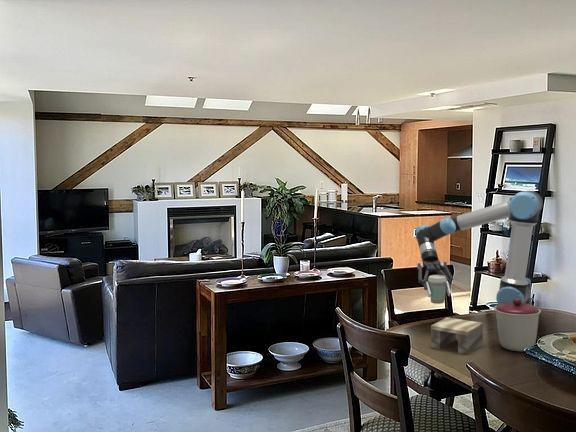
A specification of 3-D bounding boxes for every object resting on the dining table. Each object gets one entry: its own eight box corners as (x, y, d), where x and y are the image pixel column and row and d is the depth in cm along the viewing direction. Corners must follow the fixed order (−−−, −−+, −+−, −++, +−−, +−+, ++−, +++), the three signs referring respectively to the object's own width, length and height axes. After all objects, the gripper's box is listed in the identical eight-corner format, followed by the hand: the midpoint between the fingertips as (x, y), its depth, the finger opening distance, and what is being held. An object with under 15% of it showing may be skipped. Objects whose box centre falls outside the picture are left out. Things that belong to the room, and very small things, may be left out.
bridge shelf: (482, 344, 237) (482, 322, 236) (467, 354, 225) (467, 331, 224) (447, 338, 247) (447, 317, 246) (431, 347, 235) (430, 325, 234)
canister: (550, 352, 224) (550, 301, 222) (509, 356, 221) (509, 304, 219) (524, 339, 242) (524, 292, 240) (485, 343, 239) (485, 295, 237)
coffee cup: (447, 304, 250) (447, 278, 248) (428, 304, 252) (427, 278, 250) (446, 299, 258) (446, 274, 257) (427, 299, 260) (427, 274, 259)
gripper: (448, 257, 268) (460, 298, 254) (405, 259, 268) (414, 300, 253) (452, 248, 263) (464, 289, 248) (408, 250, 262) (417, 291, 248)
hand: (439, 295), depth 251 cm, fingers closed on coffee cup, 8 cm apart
